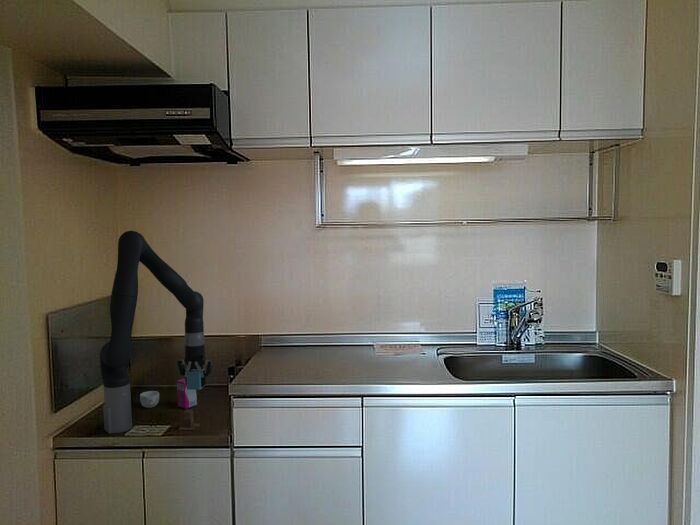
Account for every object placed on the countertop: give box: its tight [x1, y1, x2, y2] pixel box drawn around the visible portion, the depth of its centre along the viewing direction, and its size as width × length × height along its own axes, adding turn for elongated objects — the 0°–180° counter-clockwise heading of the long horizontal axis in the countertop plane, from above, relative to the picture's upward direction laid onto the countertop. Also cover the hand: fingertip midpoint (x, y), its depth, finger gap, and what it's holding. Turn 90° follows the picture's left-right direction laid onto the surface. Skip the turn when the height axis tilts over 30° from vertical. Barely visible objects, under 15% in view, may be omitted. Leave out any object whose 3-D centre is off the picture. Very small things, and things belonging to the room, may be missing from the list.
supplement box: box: [176, 378, 198, 410], centre depth 243 cm, size 6×6×12 cm
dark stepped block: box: [178, 409, 201, 431], centre depth 219 cm, size 6×6×6 cm
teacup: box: [139, 390, 160, 409], centre depth 244 cm, size 10×8×5 cm
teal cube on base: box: [186, 369, 204, 391], centre depth 226 cm, size 5×5×7 cm
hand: (195, 386), depth 226 cm, fingers closed on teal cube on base, 5 cm apart
